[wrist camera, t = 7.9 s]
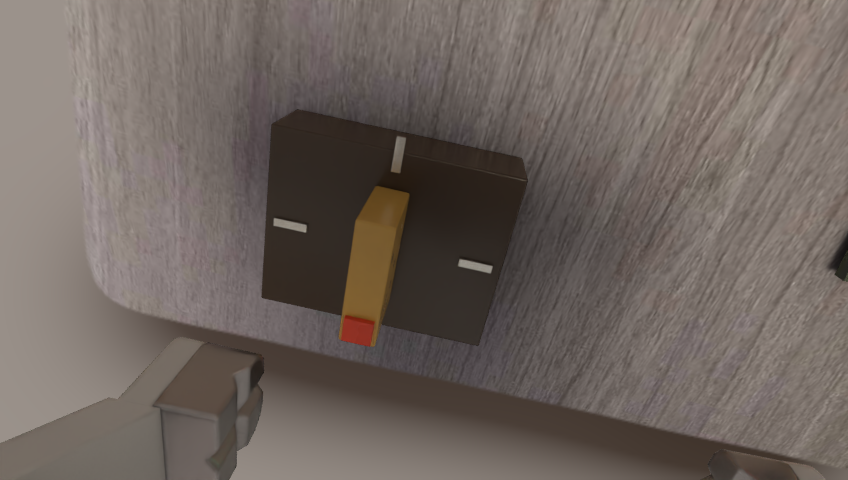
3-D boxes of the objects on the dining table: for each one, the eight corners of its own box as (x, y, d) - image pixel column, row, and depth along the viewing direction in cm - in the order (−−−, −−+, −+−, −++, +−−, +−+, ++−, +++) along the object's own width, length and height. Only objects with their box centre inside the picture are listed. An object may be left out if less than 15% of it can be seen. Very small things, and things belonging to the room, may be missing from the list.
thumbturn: (375, 184, 20) (353, 222, 16) (410, 192, 20) (395, 231, 16) (358, 291, 22) (335, 344, 19) (389, 298, 22) (373, 352, 19)
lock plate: (526, 144, 22) (533, 166, 19) (476, 319, 26) (475, 359, 23) (298, 94, 22) (270, 108, 19) (283, 276, 26) (258, 311, 23)
